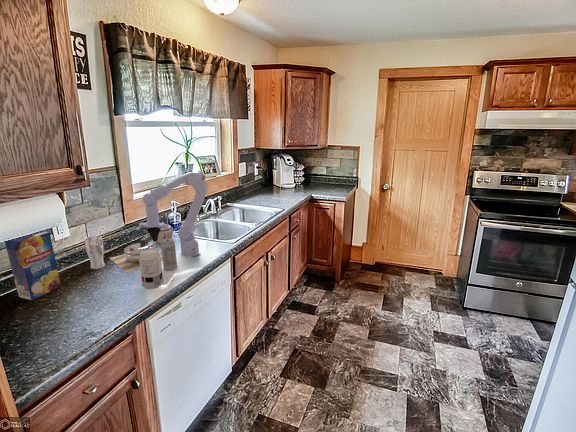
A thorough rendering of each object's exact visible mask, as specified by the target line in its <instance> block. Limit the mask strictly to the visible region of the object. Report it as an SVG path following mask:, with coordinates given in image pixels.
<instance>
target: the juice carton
mask: <svg viewBox="0 0 576 432" xmlns="http://www.w3.org/2000/svg"><path fill="white" fill-rule="evenodd" d="M39 231H40V232H36V233H33V234H30V235H27V236H23V237H19V238H16V239H12V240H8V241H5V240H4V244H5V248H6V252H7V256H8V260H9V263H10V267H11V271H12V276H13V279H14V284H15V288H16V292H17V297H18V298H21V299H25V300H30V301H34V300H36V299H37V298H40V297H42V296H44V295H46V294H47V293H48V294H49V293H50V292H52V291H54V290H56V289H58V288H60V287H62V284H61V280H60V275H59V271H58V266H57V262H56V256H55V251H54V246H53V242H52V237H51V232H50V231H46V230H45V231H44V230H39Z"/></svg>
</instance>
